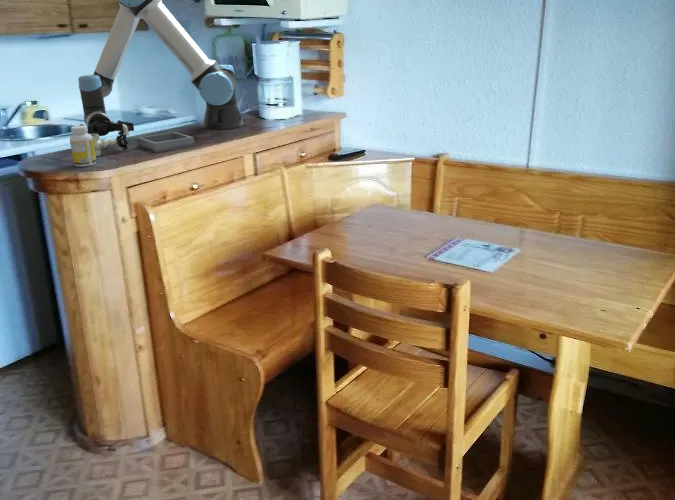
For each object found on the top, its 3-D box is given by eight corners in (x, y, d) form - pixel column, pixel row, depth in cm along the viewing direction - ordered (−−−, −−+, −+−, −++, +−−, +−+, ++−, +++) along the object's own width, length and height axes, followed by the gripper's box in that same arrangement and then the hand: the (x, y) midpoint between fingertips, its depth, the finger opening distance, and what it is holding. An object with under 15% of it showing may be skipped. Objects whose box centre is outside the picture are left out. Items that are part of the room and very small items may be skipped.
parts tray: (175, 140, 233) (174, 131, 232) (194, 145, 223) (193, 137, 222) (138, 146, 225) (137, 137, 224) (156, 152, 215) (154, 143, 214)
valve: (92, 158, 210) (129, 152, 217) (89, 138, 207) (126, 132, 214) (86, 153, 215) (122, 147, 221) (83, 133, 212) (119, 128, 219)
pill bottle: (94, 161, 206) (87, 124, 202) (98, 165, 201) (92, 127, 197) (72, 164, 203) (65, 126, 199) (76, 168, 198) (69, 129, 194)
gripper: (136, 130, 236) (146, 140, 217) (64, 138, 227) (69, 150, 208) (133, 109, 233) (143, 117, 215) (60, 116, 224) (64, 126, 205)
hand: (106, 133), depth 211 cm, fingers closed on valve, 12 cm apart
